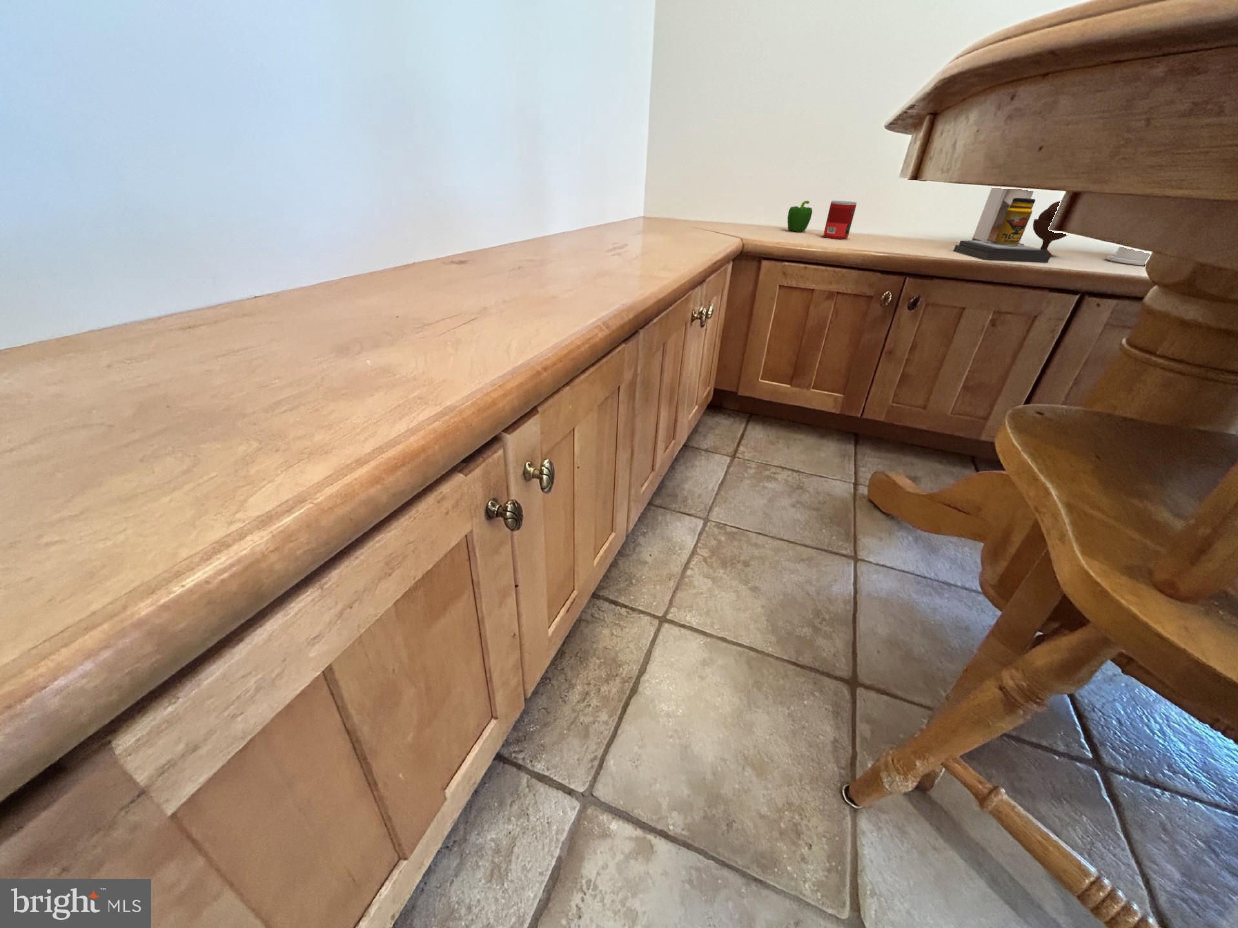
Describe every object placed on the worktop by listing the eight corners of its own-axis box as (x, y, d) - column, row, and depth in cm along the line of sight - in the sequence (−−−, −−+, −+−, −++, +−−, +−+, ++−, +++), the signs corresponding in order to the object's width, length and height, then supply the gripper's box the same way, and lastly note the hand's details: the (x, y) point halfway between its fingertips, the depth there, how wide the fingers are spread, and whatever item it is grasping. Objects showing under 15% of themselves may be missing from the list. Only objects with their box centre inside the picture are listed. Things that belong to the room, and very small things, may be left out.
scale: (1010, 253, 155) (1014, 242, 153) (1047, 262, 141) (1053, 251, 140) (953, 250, 154) (957, 240, 153) (985, 260, 141) (990, 248, 139)
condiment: (1010, 246, 142) (1030, 199, 136) (981, 242, 149) (998, 196, 142) (1025, 246, 145) (1045, 199, 139) (996, 241, 151) (1014, 197, 145)
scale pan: (1008, 247, 152) (1010, 242, 152) (1038, 254, 141) (1041, 249, 141) (966, 245, 152) (968, 240, 152) (993, 252, 141) (995, 247, 140)
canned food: (849, 240, 166) (859, 203, 160) (825, 238, 167) (833, 201, 161) (844, 237, 173) (853, 201, 167) (820, 235, 174) (829, 200, 168)
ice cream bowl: (1070, 259, 149) (1097, 203, 141) (1029, 256, 151) (1054, 200, 143) (1051, 253, 158) (1076, 200, 150) (1013, 251, 159) (1035, 198, 152)
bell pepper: (787, 232, 178) (794, 201, 173) (782, 229, 185) (788, 199, 180) (811, 233, 178) (818, 202, 173) (804, 230, 185) (811, 200, 180)
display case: (982, 248, 162) (1033, 117, 143) (970, 244, 170) (1017, 120, 152) (1021, 251, 160) (1078, 119, 141) (1007, 246, 169) (1059, 121, 150)
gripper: (1115, 83, 119) (1078, 166, 128) (1060, 91, 134) (1031, 165, 143) (1084, 82, 119) (1050, 165, 128) (1033, 90, 134) (1005, 164, 143)
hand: (1040, 165), depth 136 cm, fingers open, 9 cm apart
